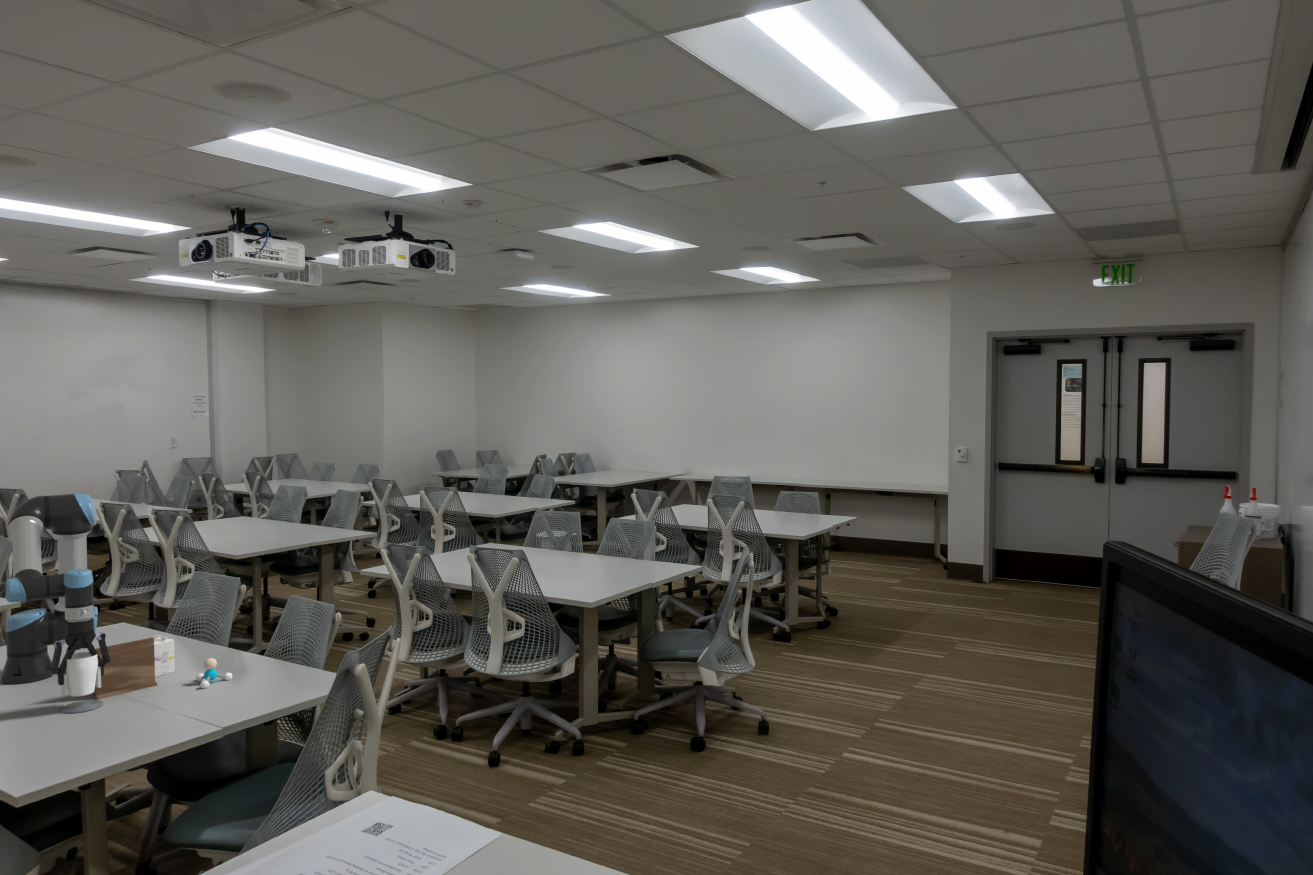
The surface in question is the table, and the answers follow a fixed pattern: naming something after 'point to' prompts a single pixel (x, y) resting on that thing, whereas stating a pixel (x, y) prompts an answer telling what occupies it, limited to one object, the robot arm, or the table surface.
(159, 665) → the ink box
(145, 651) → the brown wooden slab
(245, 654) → the table surface
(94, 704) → the grey smooth rounded part
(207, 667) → the molecule model
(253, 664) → the table surface
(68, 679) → the cup
